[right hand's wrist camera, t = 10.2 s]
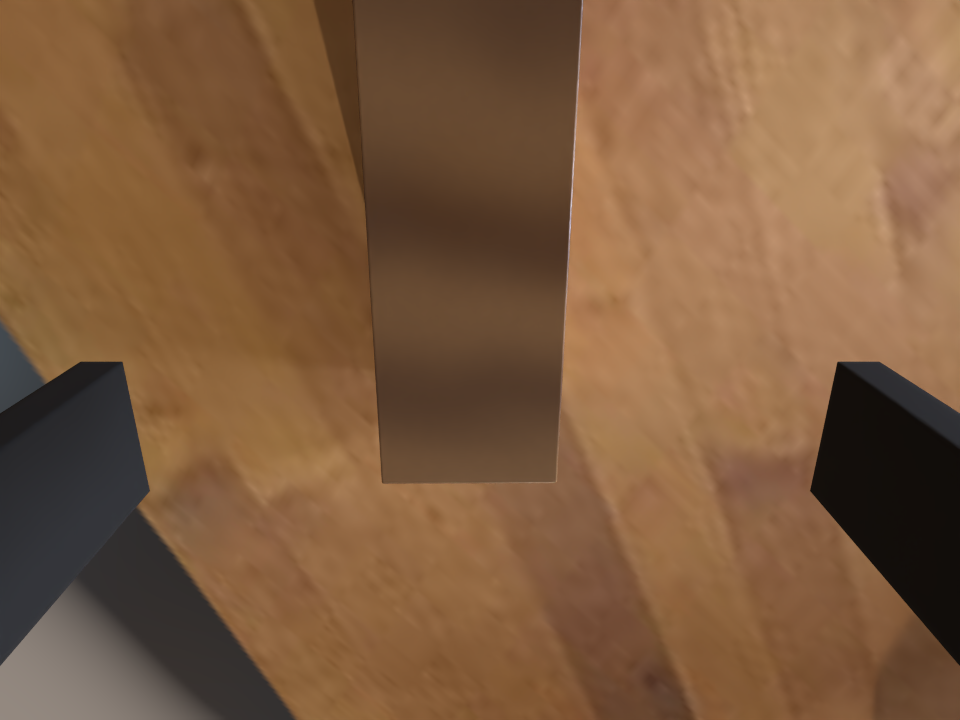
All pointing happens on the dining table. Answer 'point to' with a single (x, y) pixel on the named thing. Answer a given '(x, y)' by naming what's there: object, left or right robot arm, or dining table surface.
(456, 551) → the dining table surface
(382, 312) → the bar
